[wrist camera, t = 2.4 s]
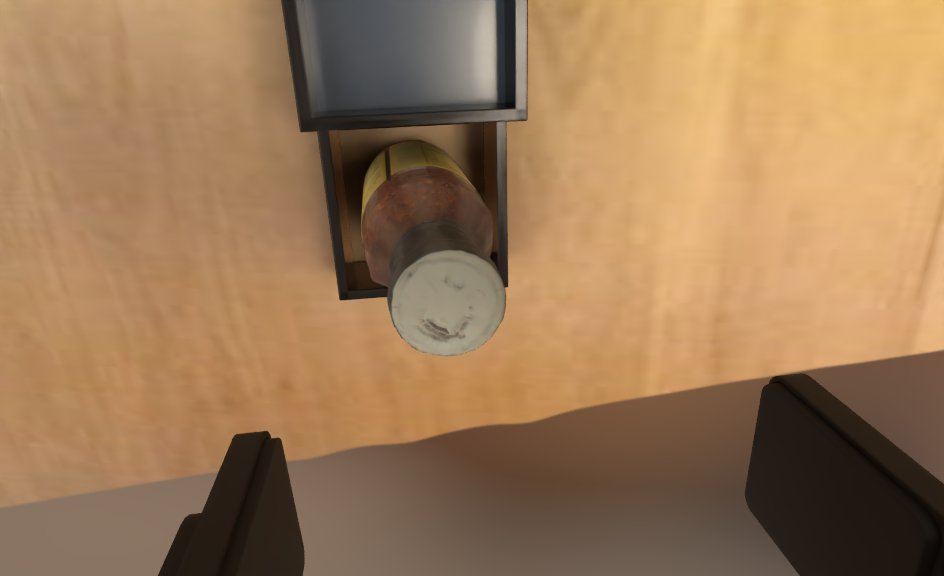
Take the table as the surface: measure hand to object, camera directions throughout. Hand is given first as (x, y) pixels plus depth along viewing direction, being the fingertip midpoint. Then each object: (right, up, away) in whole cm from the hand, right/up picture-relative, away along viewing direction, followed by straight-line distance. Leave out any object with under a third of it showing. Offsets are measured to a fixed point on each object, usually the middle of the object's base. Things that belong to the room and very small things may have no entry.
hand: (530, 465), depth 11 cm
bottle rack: (-5, +15, +25) cm, 29 cm away
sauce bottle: (-5, +10, +27) cm, 29 cm away
